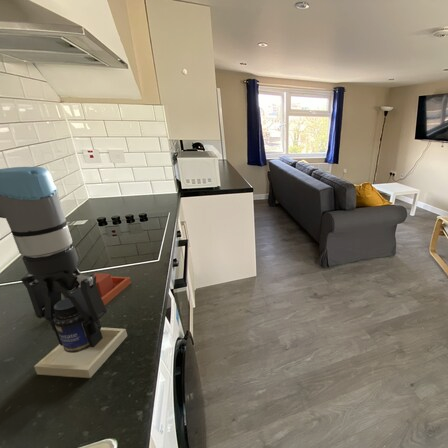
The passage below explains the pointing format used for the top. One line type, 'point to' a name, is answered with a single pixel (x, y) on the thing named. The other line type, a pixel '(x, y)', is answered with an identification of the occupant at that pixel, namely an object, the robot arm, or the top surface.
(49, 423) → the top surface
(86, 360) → the cream tray
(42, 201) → the robot arm
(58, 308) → the pill bottle
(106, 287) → the block
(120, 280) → the terracotta tray
